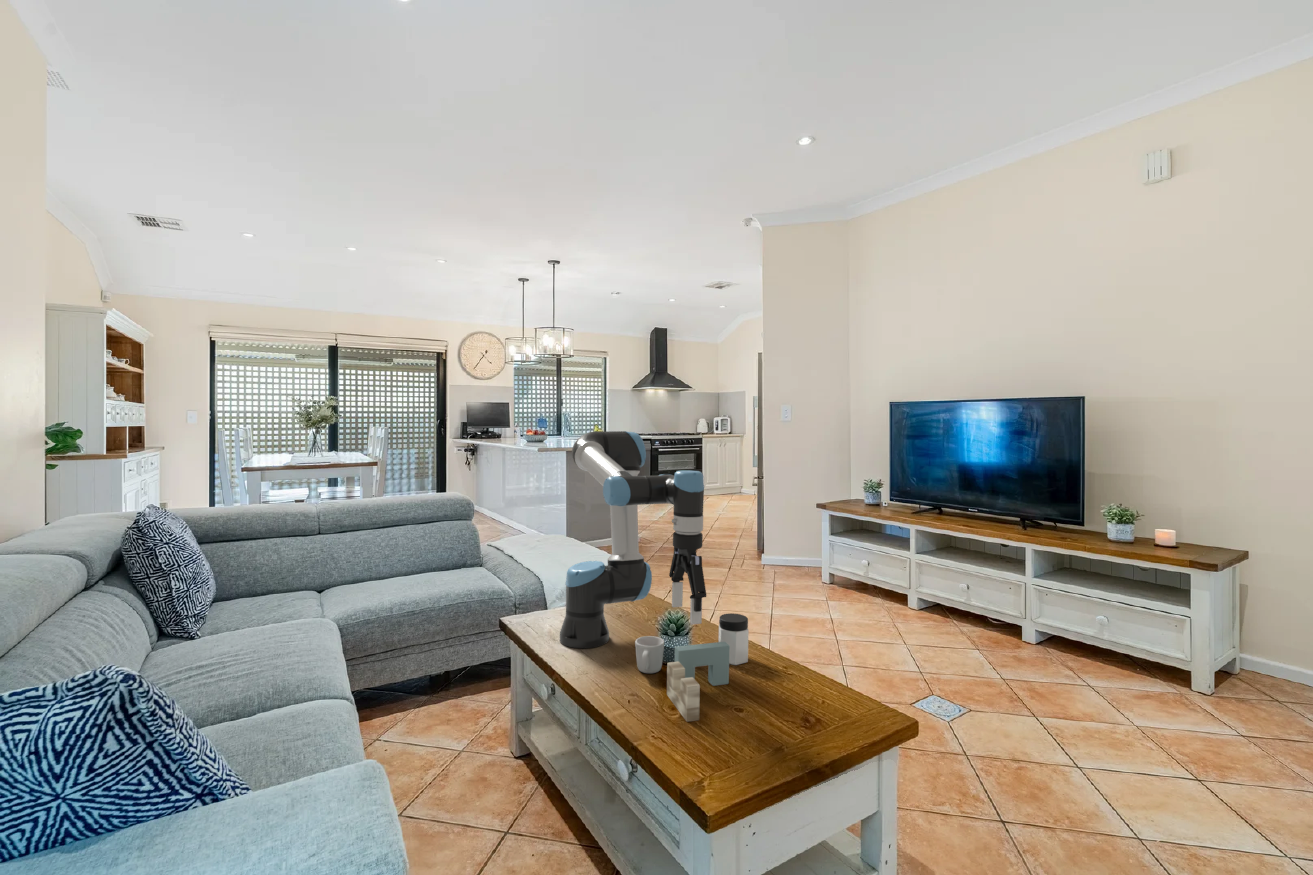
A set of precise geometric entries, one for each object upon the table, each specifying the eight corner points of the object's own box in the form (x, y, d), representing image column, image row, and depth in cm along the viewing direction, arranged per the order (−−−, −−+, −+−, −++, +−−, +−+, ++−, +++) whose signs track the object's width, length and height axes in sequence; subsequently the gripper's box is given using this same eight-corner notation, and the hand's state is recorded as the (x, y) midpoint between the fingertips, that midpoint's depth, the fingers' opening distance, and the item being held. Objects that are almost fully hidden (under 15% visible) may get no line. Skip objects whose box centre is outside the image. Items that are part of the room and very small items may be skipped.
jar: (716, 652, 176) (717, 612, 176) (744, 653, 176) (744, 612, 176) (720, 665, 167) (721, 622, 167) (749, 665, 167) (750, 623, 167)
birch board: (666, 694, 149) (667, 662, 148) (678, 692, 150) (678, 661, 149) (686, 721, 135) (687, 686, 135) (699, 719, 136) (699, 685, 136)
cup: (658, 682, 156) (659, 651, 156) (629, 678, 157) (629, 648, 157) (666, 665, 166) (666, 637, 166) (638, 662, 168) (638, 634, 168)
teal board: (673, 685, 154) (674, 646, 154) (723, 678, 158) (724, 641, 158) (677, 690, 151) (678, 650, 151) (728, 683, 155) (729, 645, 155)
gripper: (658, 523, 163) (657, 601, 163) (691, 542, 139) (689, 632, 139) (684, 522, 165) (683, 599, 166) (721, 541, 141) (719, 630, 142)
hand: (686, 614), depth 152 cm, fingers open, 13 cm apart
